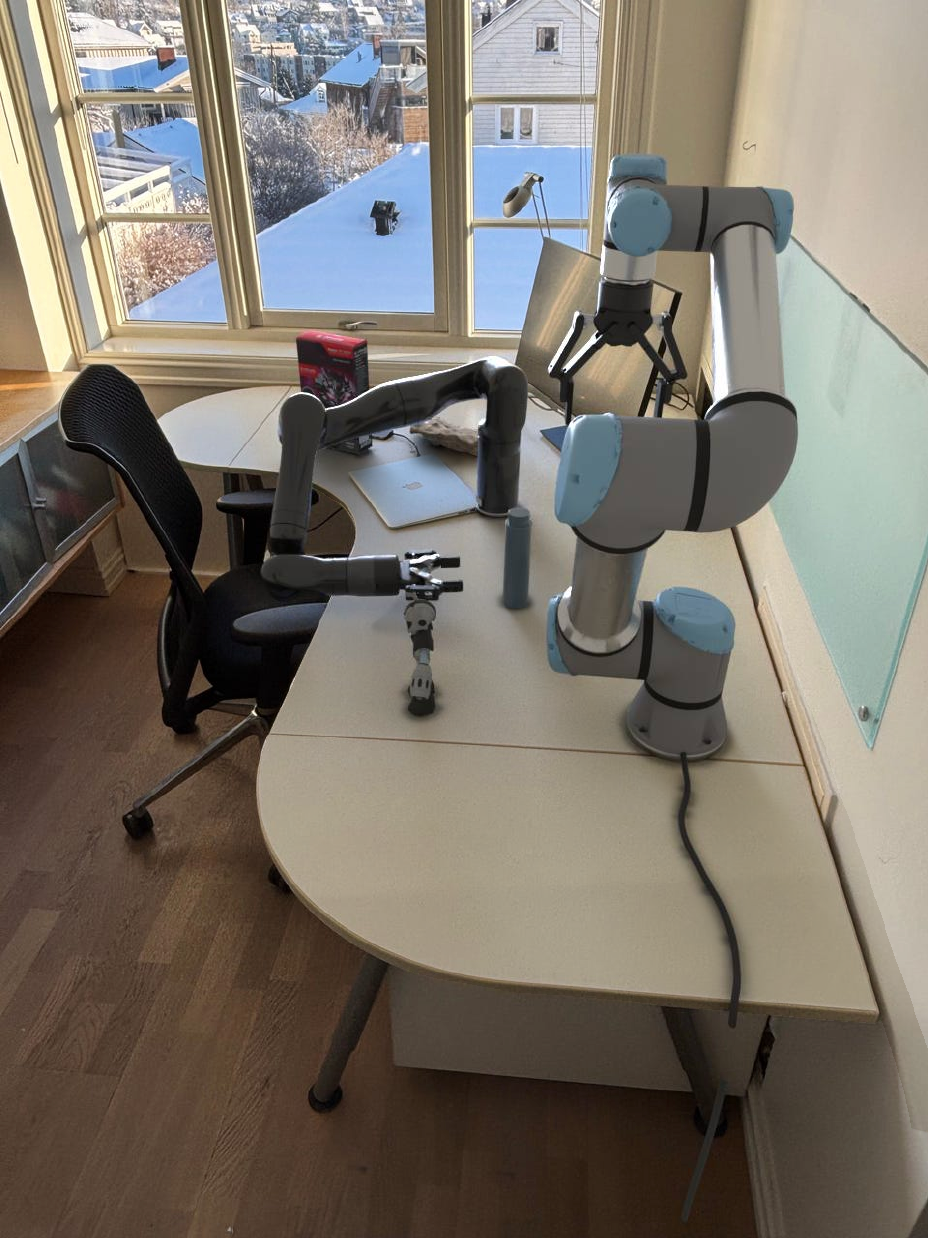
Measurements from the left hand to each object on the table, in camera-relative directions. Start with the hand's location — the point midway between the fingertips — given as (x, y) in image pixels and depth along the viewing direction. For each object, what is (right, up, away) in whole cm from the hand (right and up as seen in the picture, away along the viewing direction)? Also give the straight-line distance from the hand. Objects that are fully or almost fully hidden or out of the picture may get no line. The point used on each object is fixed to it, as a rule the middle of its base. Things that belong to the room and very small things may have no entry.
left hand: (461, 573), depth 169 cm
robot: (-6, -22, -21) cm, 31 cm away
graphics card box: (-31, +36, +64) cm, 80 cm away
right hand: (+23, +22, -29) cm, 43 cm away
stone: (-4, +36, +65) cm, 74 cm away
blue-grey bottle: (+10, -5, +4) cm, 12 cm away
